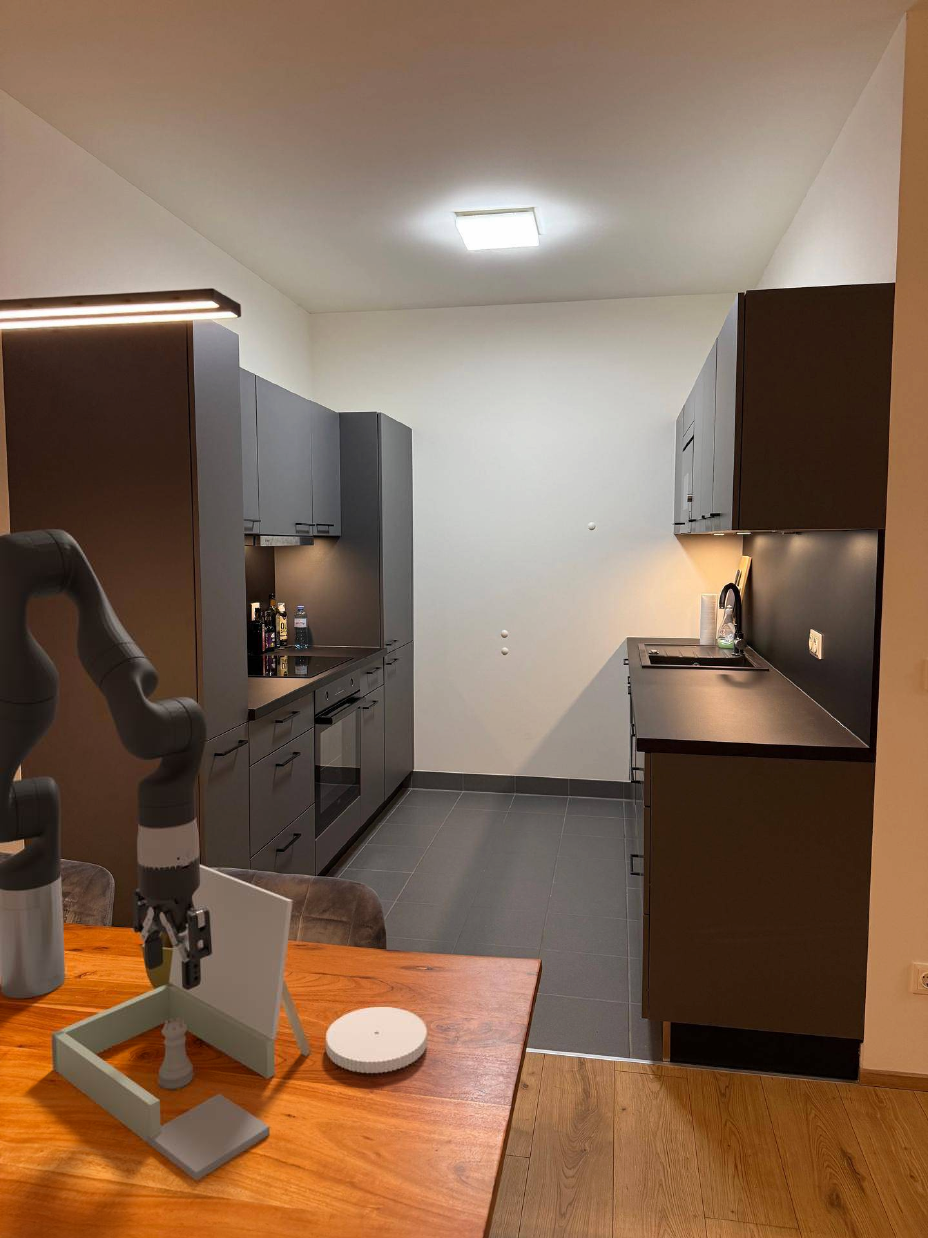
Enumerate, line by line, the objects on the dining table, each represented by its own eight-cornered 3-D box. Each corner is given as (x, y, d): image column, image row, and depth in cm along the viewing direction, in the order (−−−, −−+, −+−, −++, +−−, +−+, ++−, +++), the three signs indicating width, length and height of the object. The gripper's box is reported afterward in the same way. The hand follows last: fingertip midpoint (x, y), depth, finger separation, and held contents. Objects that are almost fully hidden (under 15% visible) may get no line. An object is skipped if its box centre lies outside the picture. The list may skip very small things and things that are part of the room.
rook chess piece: (201, 1074, 117) (199, 1016, 117) (179, 1094, 113) (178, 1034, 113) (172, 1068, 119) (171, 1011, 118) (150, 1087, 115) (148, 1028, 114)
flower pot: (194, 1008, 134) (192, 950, 134) (141, 1002, 136) (140, 945, 135) (221, 980, 143) (220, 926, 142) (171, 975, 145) (170, 921, 144)
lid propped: (169, 983, 132) (165, 866, 130) (191, 973, 135) (188, 859, 133) (271, 1040, 117) (269, 909, 115) (295, 1028, 120) (292, 899, 118)
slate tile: (147, 1142, 104) (146, 1134, 104) (219, 1101, 112) (219, 1093, 112) (196, 1181, 98) (196, 1172, 98) (269, 1134, 105) (269, 1126, 105)
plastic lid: (330, 1087, 115) (330, 1068, 115) (322, 1030, 129) (322, 1013, 129) (436, 1072, 118) (435, 1054, 118) (417, 1018, 132) (417, 1001, 132)
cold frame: (53, 1070, 119) (49, 981, 118) (209, 998, 137) (207, 921, 136) (151, 1147, 103) (148, 1046, 102) (312, 1054, 122) (310, 968, 121)
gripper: (112, 850, 115) (116, 971, 116) (174, 876, 106) (178, 1006, 107) (163, 836, 121) (167, 951, 122) (226, 858, 112) (230, 983, 113)
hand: (172, 977), depth 115 cm, fingers open, 8 cm apart
